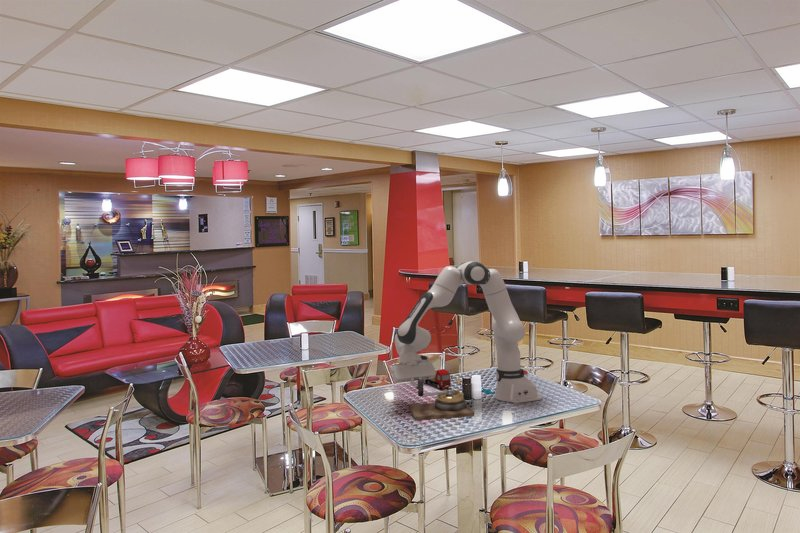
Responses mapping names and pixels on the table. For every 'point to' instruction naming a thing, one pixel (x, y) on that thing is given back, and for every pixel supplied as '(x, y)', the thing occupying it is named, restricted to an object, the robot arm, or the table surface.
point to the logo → (482, 388)
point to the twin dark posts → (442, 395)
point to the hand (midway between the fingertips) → (418, 388)
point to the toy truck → (440, 379)
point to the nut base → (440, 410)
